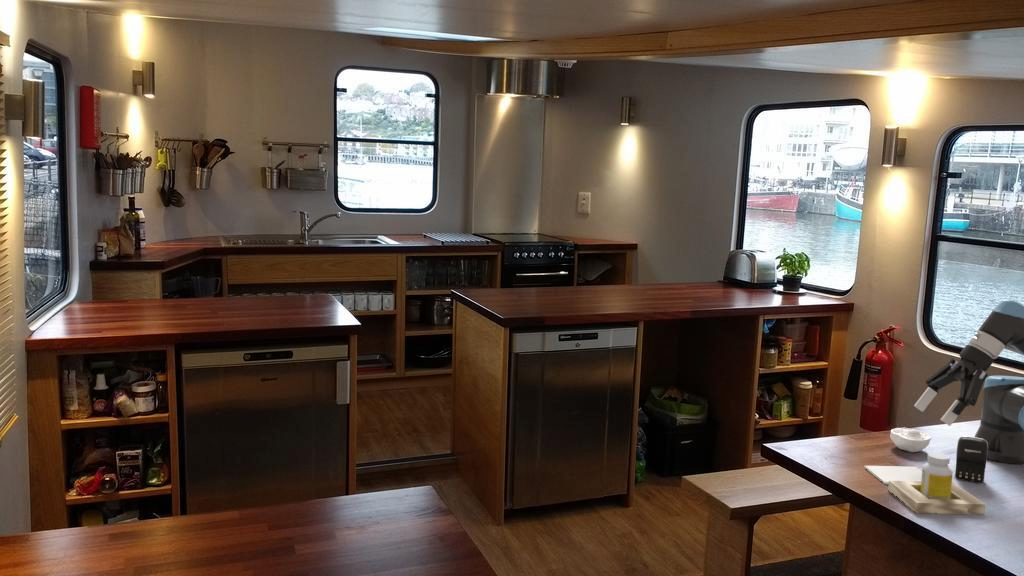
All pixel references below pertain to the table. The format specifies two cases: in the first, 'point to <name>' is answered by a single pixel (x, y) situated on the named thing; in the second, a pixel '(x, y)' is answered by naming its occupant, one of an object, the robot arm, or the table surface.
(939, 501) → the holder
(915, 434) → the cell model
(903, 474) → the pad
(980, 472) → the battery charger
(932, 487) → the pill bottle
